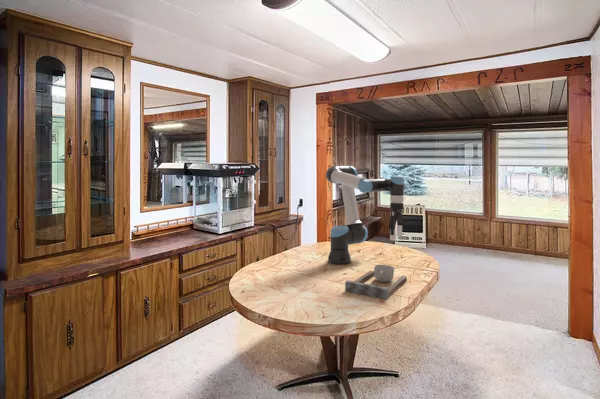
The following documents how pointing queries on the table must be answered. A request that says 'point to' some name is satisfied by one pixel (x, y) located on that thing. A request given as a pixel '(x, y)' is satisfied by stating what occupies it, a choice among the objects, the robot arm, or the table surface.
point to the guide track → (373, 286)
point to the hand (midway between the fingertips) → (396, 238)
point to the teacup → (383, 273)
